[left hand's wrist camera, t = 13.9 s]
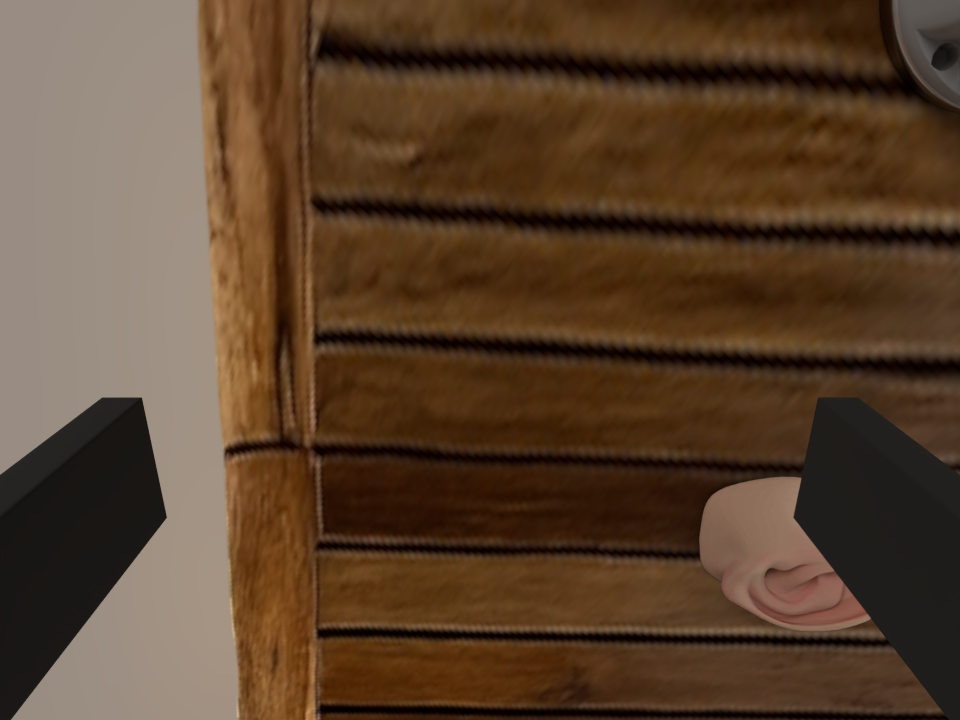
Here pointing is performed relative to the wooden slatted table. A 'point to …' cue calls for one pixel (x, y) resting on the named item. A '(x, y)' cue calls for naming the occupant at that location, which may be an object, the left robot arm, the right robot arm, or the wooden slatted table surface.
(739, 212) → the wooden slatted table surface
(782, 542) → the anatomical model
